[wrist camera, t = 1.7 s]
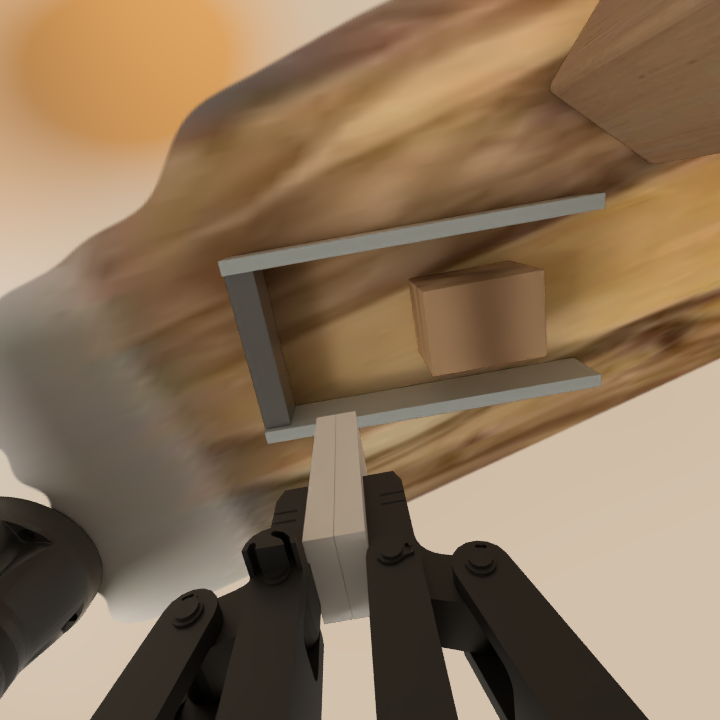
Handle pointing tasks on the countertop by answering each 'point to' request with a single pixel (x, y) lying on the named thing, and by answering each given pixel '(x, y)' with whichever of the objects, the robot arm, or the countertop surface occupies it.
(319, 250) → the grey u-shaped frame
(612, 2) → the wooden block
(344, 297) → the countertop surface
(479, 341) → the walnut block
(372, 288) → the countertop surface
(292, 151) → the countertop surface
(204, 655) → the robot arm
